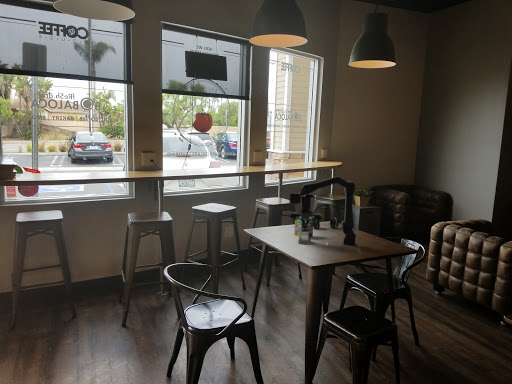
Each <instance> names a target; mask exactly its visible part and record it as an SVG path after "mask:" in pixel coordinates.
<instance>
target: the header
mask: <svg viewBox="0 0 512 384" xmlns="http://www.w3.org/2000/svg"><path fill="white" fill-rule="evenodd" d="M297 242H298V244H299V245H304V246H305V245H311V243H312V237H308V240H301V237H298V241H297Z"/></svg>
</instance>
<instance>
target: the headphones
mask: <svg viewBox="0 0 512 384" xmlns="http://www.w3.org/2000/svg"><path fill="white" fill-rule="evenodd" d="M323 206H329V207H331V208H333V209H334V210H335V213H336V217H333V216H332V217H330V219H329V228H330V229H337V228H338V227H339V225H340V217H339V212H338V210H337V209H336V207H335V205H333V204H331V203H320V204H318V205H317V206H316V207H315V208H314V209H313V210H312V211H313V215H315V212H316V211H317V210H318V209H319V208H320V207H323ZM311 221H313V229H315V230H317V229H320V228H321V223H320V221H321V220H316V219H315V218H312V220H311Z"/></svg>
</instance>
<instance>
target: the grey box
mask: <svg viewBox="0 0 512 384" xmlns="http://www.w3.org/2000/svg"><path fill="white" fill-rule="evenodd" d="M308 234H309V232H302V233H301V240H308Z"/></svg>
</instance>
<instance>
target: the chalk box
mask: <svg viewBox="0 0 512 384" xmlns="http://www.w3.org/2000/svg"><path fill="white" fill-rule="evenodd" d="M299 219H300V218H299ZM299 219H295V220H294V236H297V237H298V238H299V237H301V233H302V232H309V234H308V237H311V238H312V237H313V235H314V234H313V233H314V227H313V221H309V223H308V225H307V228H306V230H305V229H304V226H303V223H302V221H301V220H299ZM306 221H307V219H305V227H306Z"/></svg>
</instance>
